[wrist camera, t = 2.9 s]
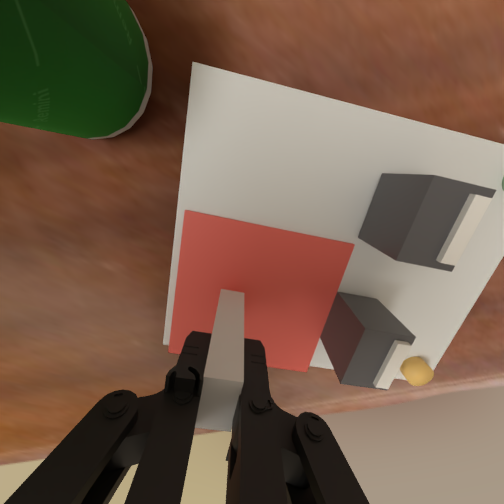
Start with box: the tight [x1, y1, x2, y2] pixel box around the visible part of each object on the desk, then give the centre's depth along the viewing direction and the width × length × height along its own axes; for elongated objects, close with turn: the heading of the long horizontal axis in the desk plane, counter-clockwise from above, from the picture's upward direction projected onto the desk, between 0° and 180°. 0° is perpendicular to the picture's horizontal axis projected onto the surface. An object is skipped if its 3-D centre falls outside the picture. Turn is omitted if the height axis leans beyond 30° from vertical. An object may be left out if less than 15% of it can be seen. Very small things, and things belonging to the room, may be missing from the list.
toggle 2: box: [358, 173, 496, 272], centre depth 12 cm, size 3×4×4 cm
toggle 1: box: [320, 292, 416, 390], centre depth 15 cm, size 3×4×4 cm
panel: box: [163, 62, 504, 386], centre depth 16 cm, size 22×18×3 cm
